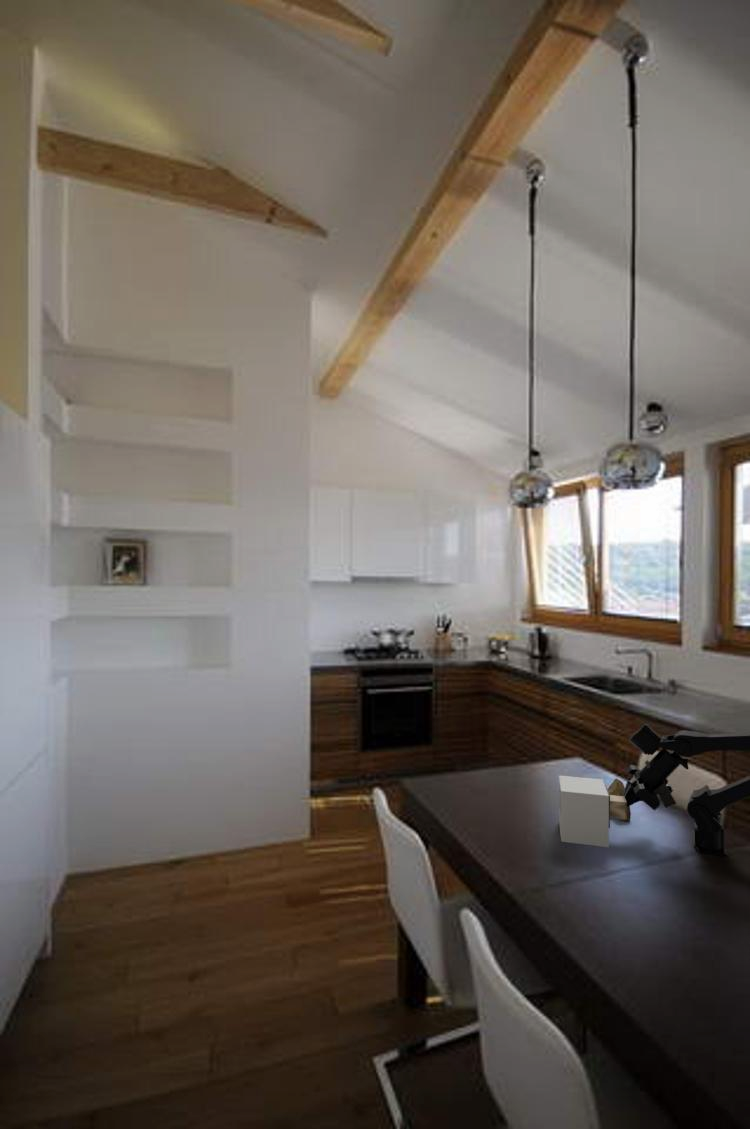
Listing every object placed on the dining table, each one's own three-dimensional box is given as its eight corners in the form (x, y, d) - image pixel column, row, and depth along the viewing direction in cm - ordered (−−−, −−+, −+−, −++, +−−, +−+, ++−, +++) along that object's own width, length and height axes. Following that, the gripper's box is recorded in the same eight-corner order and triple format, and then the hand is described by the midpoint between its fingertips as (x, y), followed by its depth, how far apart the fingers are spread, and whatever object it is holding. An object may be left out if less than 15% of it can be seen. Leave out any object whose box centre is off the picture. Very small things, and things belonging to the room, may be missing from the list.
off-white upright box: (605, 827, 163) (604, 779, 164) (611, 847, 151) (611, 796, 151) (559, 822, 167) (558, 775, 167) (561, 841, 154) (561, 791, 155)
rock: (641, 816, 166) (636, 799, 175) (622, 792, 166) (618, 776, 176) (609, 833, 169) (605, 815, 178) (590, 809, 170) (588, 793, 179)
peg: (624, 812, 158) (624, 796, 159) (626, 819, 154) (626, 802, 154) (578, 808, 162) (578, 791, 162) (579, 814, 157) (579, 797, 157)
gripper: (694, 802, 146) (652, 844, 149) (677, 775, 164) (640, 813, 167) (657, 772, 149) (616, 814, 152) (644, 748, 167) (608, 786, 170)
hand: (621, 807), depth 160 cm, fingers closed
